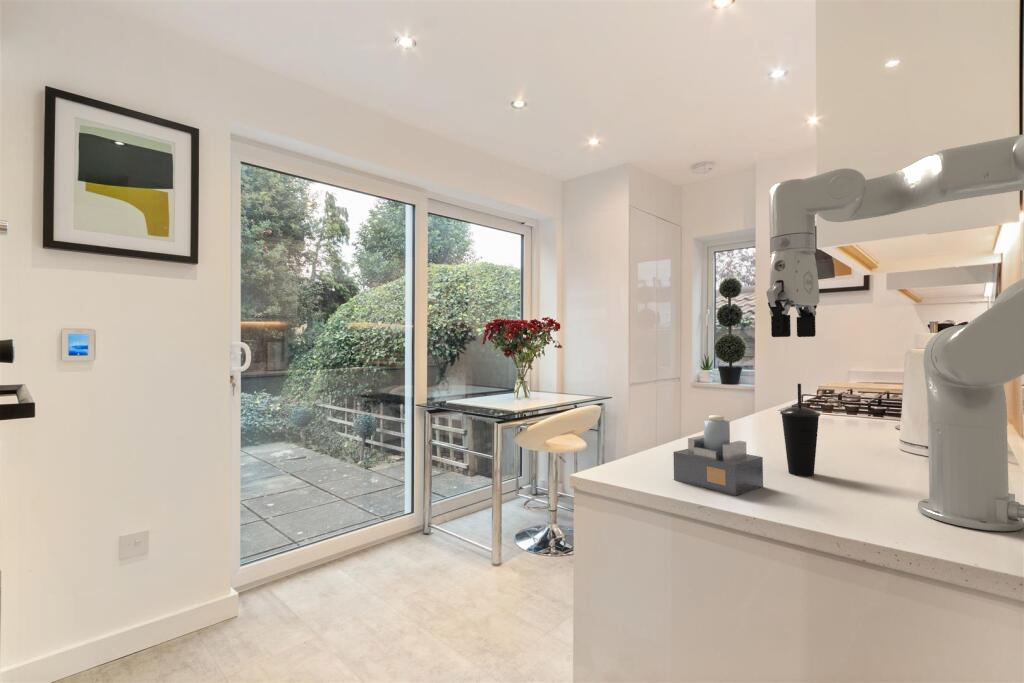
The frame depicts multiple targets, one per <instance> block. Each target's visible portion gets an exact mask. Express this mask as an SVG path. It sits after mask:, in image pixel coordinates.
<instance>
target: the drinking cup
mask: <svg viewBox="0 0 1024 683" xmlns="http://www.w3.org/2000/svg"><path fill="white" fill-rule="evenodd" d="M779 413H780V415H781V418H782V419H781V420H782V421H781V422H782V428H783V429H782V430H783V435H784V436H783V438H784V445H785V452H786V453H785V454H786V462H787V468H788V471H787V472H788V473H789V474H790V475H793V476H798V477H805V478H806V477H809V478H810V477H813V476H814V475H815V466H816V452H817V445H818V444H817V443H818V442H817V441H818V428H819V418H820V417H821V413H820V412H819V411H816V410H814V409H812V408H809V407H805V406H802V383H797V406H791V407H788V408H786V409H783V410H780V411H779Z"/></svg>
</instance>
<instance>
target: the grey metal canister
mask: <svg viewBox="0 0 1024 683" xmlns="http://www.w3.org/2000/svg"><path fill="white" fill-rule="evenodd" d="M730 422H731V421H730V420H727V419H725V416H724V415H720V414H711V415H710V414H709V415H708V418H707V419H703V435H704V449H708V450H714V451H719V457H723V444H727V443H731V431H730V429H731V428H730V427H731V426H730V424H731V423H730Z"/></svg>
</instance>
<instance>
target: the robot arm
mask: <svg viewBox="0 0 1024 683" xmlns="http://www.w3.org/2000/svg"><path fill="white" fill-rule="evenodd" d="M1019 191H1024V134H1018V135H1014V136H1009V137H1004V138H1000V139H999V138H997V139H994V140H990V141H989V140H987V141H983V142H978V143H973V144H968V145H963V146H957V147H952V148H951V147H950V148H945V149H941V150H938V151H936V152H934V153H931V154H929V155H927V156H925V157H923V158H921V159H920V160H918V161H916V162H914V163H913V164H911V165H908V166H906V167H905V168H901V169H900V170H897V171H895V172H892V173H889V174H885V175H881V176H877V177H873V178H869V179H866V177H865V176H864V174H863V173H862V172H860V171H858V170H857V169H854V168H848V167H847V168H837V169H833V170H829V171H827V172H824V173H821V174H817V175H814V176H811V177H806V178H794V179H788V180H784V181H780V182H778V183H776V184H774V185H773V186H771V188H770V189H769V193H768V211H769V212H768V213H769V217H768V218H769V219H768V221H769V257H770V260H771V261H770V271H769V288H768V289H767V290H766V292H765V293H766V297H767V300H768V303H767V305H768V307H769V315H770V317H771V319H770V325H771V326H770V328H771V337H772V338H790V337H791V314H789V312H790V308H795V310H796V313H797V314H798V316H797V317H796V337H797V338H808V337H809V338H813V337H816V335H817V334H816V316H817V311H816V309H817V308H818V305H819V303H820V288H819V285H820V284H819V275H818V274H819V273H818V266H817V261H816V255H815V254H816V250H817V249H816V220H815V219H816V214H817V215H818V216H819V217H820V218H821V219H822V220H824V221H827V222H832V223H843V222H844V223H846V222H852V221H859V220H865V219H866V220H867V219H873V218H874V219H875V218H880V217H884V216H889V215H893V214H898V213H902V212H907V211H911V210H917V209H923V208H926V207H930V206H932V205H933V206H934V205H937V204H942V203H948V202H953V201H960V200H966V199H973V198H979V197H985V196H993V195H998V194H1006V193H1011V192H1012V193H1013V192H1019ZM922 358H923V360H922V362H923V370H924V379H925V388H926V400H927V446H928V447H927V448H928V453H927V454H928V492H929V494H928V495H929V496H928V498H926V499H925V498H924V499H921V500H919V501H918V502H917V509H918V511H919V512H920V513H921V514H923V515H924V516H926V517H929V518H930V519H933V520H937V521H940V522H943V523H947V524H951V525H953V526H959V527H963V528H969V529H976V530H982V531H989V532H990V531H993V532H1015V531H1019V530H1022V529H1024V504H1022V503H1020V501H1016V494H1015V493H1011V492H1010V491H1009V486H1010V485H1009V458H1008V457H1009V455H1008V454H1009V453H1008V452H1009V448H1008V447H1009V446H1008V407H1007V398H1006V397H1007V396H1006V392H1005V386H1004V384H1008V383H1009V382H1012V381H1014V380H1016V379H1018V378H1019V377H1022V376H1024V277H1023V278H1021V279H1020V280H1018V281H1016V282H1014V283H1013V284H1011V285H1009V286H1008V287H1006V288H1005V289H1003V290H1002V291H1001V292H1000V293H999V294H998V295H997V297H996V298H995V299H994V300H993V303H992V305H991V307H990V308H988V309H987V310H985V311H984V312H983V313H981V314H980V315H978V316H977V317H975V318H974V319H972V320H970V321H969V322H968V323H967V324H963V325H962V324H960V325H954V326H950V327H947V328H944V329H942V330H940V331H938V332H937V333H935V334H934V335H933V336H932V337H931V338H930V339H929V340H928V342H927V344H926V345H925V347H924V351H923V357H922Z"/></svg>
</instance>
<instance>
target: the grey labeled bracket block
mask: <svg viewBox="0 0 1024 683" xmlns="http://www.w3.org/2000/svg"><path fill="white" fill-rule="evenodd" d="M672 453H673V455H672V456H673V480H674V481H678V482H681V483H685V484H689V485H692V486H696V487H699V488H705V489H708V490H711V491H716V492H719V493H723V494H727V495H731V496H734V497H736V496H739V495H743V494H746V493H749V492H751V491H755V490H758V489H760V488H763V487H764V466H763V462H764V459H763V456H760V455H753V454H747V441H743V440H736V441H730V443H727V444H723V457H719V451H714V450H708V449H704V434H703V435H698V436H692V437H688V438H687V448H685V449H680V450H675V451H673V452H672Z"/></svg>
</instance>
